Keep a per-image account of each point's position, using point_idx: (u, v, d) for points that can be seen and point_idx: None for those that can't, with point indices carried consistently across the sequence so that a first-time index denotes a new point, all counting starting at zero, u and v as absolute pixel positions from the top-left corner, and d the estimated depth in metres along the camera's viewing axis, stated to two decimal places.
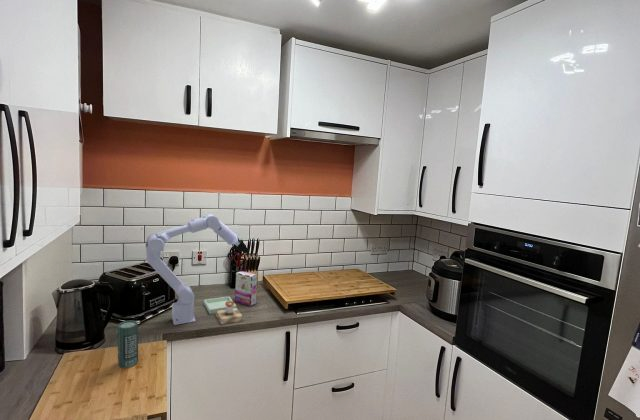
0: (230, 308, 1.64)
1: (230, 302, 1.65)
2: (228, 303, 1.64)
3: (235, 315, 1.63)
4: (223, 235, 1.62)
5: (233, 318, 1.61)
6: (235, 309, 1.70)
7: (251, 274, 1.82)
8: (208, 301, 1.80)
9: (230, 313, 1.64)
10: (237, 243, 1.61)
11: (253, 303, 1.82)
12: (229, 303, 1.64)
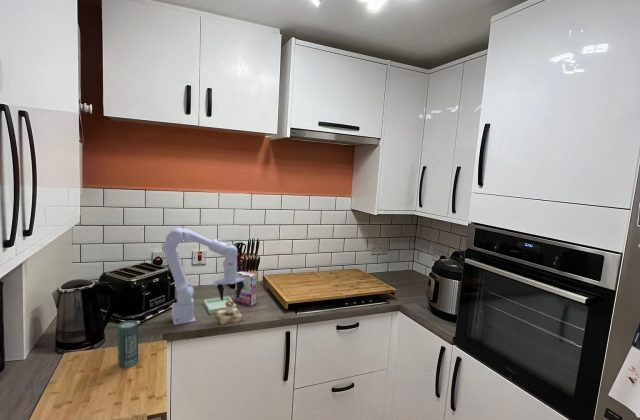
0: (230, 308, 1.64)
1: (230, 302, 1.65)
2: (228, 303, 1.64)
3: (235, 315, 1.63)
4: (227, 271, 1.60)
5: (233, 318, 1.61)
6: (235, 309, 1.70)
7: (251, 274, 1.82)
8: (208, 301, 1.80)
9: (230, 313, 1.64)
10: (214, 283, 1.60)
11: (253, 303, 1.82)
12: (229, 303, 1.64)
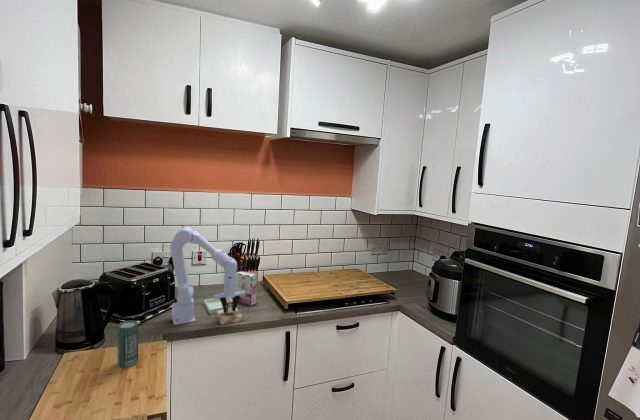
0: (230, 308, 1.64)
1: (230, 302, 1.65)
2: (228, 303, 1.64)
3: (235, 315, 1.63)
4: (226, 284, 1.61)
5: (233, 318, 1.61)
6: None
7: (251, 274, 1.82)
8: (208, 301, 1.80)
9: (230, 313, 1.64)
10: (214, 297, 1.60)
11: (253, 303, 1.82)
12: (229, 303, 1.64)
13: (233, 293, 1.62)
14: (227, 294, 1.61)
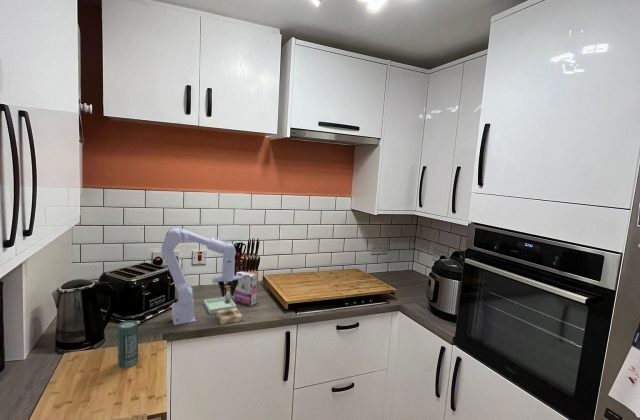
0: (228, 292, 1.65)
1: (228, 286, 1.67)
2: (226, 287, 1.65)
3: (235, 315, 1.63)
4: (226, 268, 1.62)
5: (233, 318, 1.61)
6: (235, 309, 1.70)
7: (251, 274, 1.82)
8: (208, 301, 1.80)
9: (228, 297, 1.66)
10: (212, 281, 1.62)
11: (253, 303, 1.82)
12: (227, 287, 1.65)
13: (231, 277, 1.64)
14: (225, 278, 1.63)
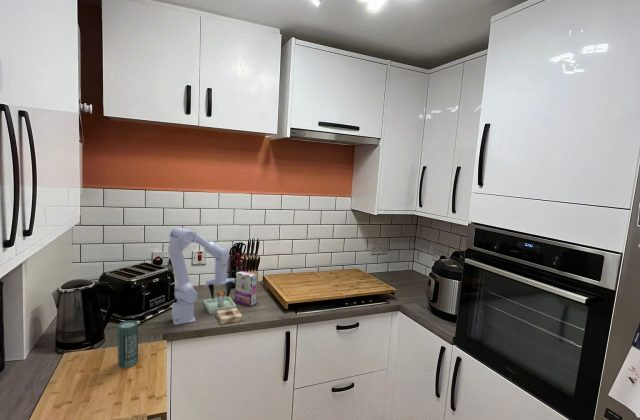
0: (221, 297, 1.74)
1: (221, 292, 1.76)
2: (219, 292, 1.74)
3: (235, 315, 1.63)
4: (221, 272, 1.72)
5: (233, 318, 1.61)
6: (235, 309, 1.70)
7: (251, 274, 1.82)
8: (208, 301, 1.80)
9: (221, 302, 1.75)
10: (206, 283, 1.72)
11: (253, 303, 1.82)
12: (220, 293, 1.74)
13: (223, 280, 1.73)
14: (218, 281, 1.72)
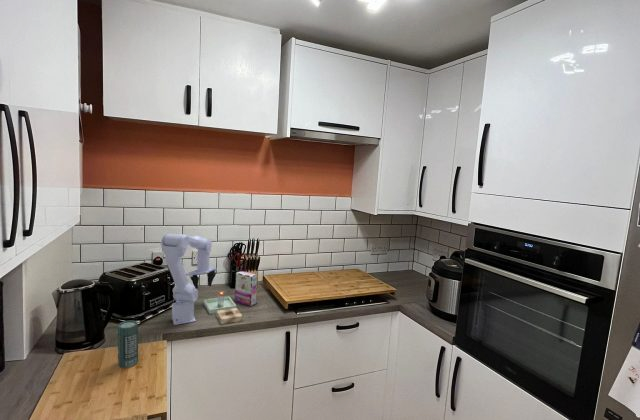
0: (221, 297, 1.75)
1: (221, 291, 1.76)
2: (219, 292, 1.75)
3: (235, 315, 1.63)
4: (206, 261, 1.72)
5: (233, 318, 1.61)
6: (235, 309, 1.70)
7: (251, 274, 1.82)
8: (208, 301, 1.80)
9: (221, 302, 1.75)
10: (189, 274, 1.69)
11: (253, 303, 1.82)
12: (220, 292, 1.75)
13: (207, 269, 1.73)
14: (202, 270, 1.71)
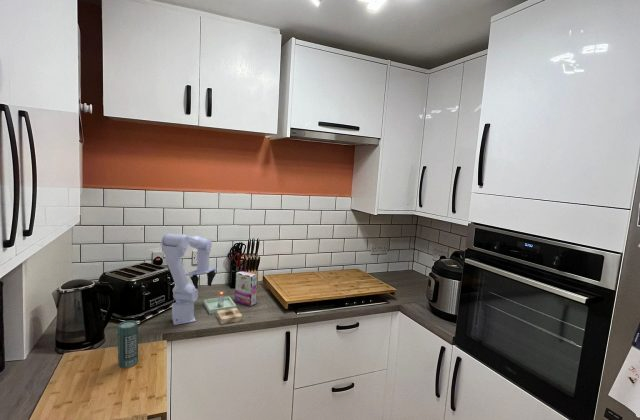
0: (221, 297, 1.75)
1: (221, 291, 1.76)
2: (219, 292, 1.75)
3: (235, 315, 1.63)
4: (206, 261, 1.72)
5: (233, 318, 1.61)
6: (235, 309, 1.70)
7: (251, 274, 1.82)
8: (208, 301, 1.80)
9: (221, 302, 1.75)
10: (189, 274, 1.69)
11: (253, 303, 1.82)
12: (220, 292, 1.75)
13: (207, 269, 1.73)
14: (202, 270, 1.71)
